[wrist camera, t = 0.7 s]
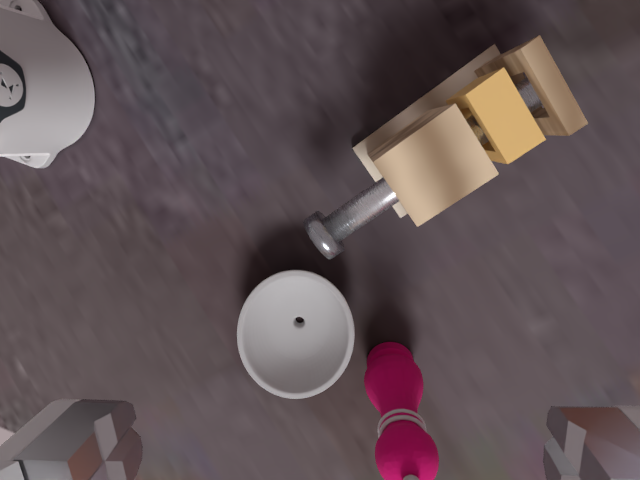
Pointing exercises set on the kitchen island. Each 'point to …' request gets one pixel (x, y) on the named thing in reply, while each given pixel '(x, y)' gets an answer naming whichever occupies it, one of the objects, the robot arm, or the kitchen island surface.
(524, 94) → the shaft
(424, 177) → the bracket
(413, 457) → the pepper mill
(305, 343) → the dish
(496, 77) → the block
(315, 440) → the kitchen island surface
